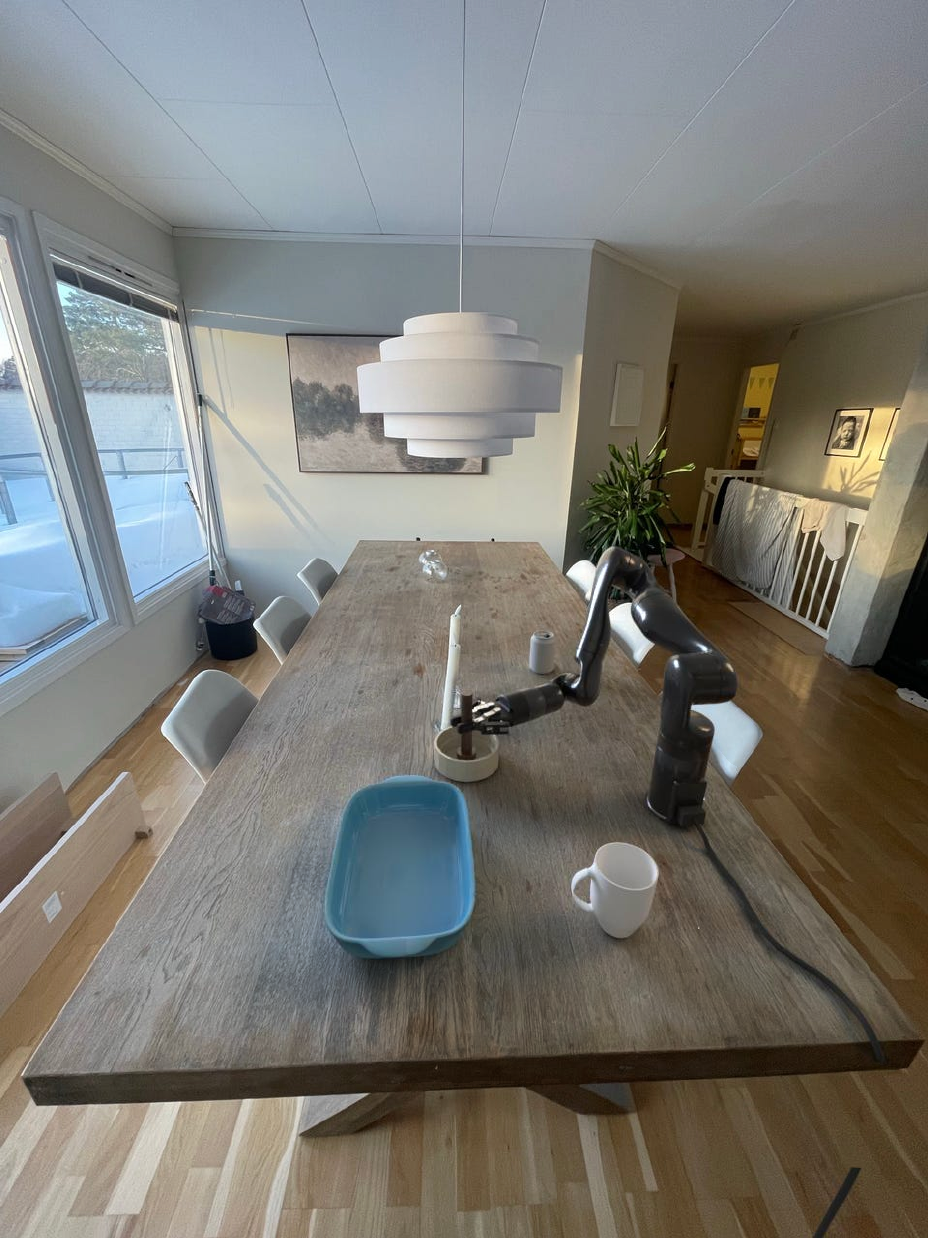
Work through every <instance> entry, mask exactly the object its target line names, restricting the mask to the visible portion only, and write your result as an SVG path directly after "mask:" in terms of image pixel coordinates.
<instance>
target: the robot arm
mask: <svg viewBox="0 0 928 1238" xmlns="http://www.w3.org/2000/svg"><path fill="white" fill-rule="evenodd" d="M611 587H613V588H615V589H618V590H620V591H622V592H624V593H625V594H627V595H628V596H629V597H630V598H631V600H632V602H631V604H630V614H631V618H632V621H633V622H634V624H635V625H636V627H637V628H638V630H639V632H640V633H641V635H642V636H643V637H644V638H645V639H646V640H648V641H649V642H650V643H652V644H654V645H655V646H656V647H659V648H660V649H663V650H664V651H666V652H669V653H670V654H672V655H671V656H670V657H669V658H668V660H667V661H666V664H665V667H664V672H663V680H662V682H663V683H662V691H661V699H660V709H659V713H660V714H659V715H660V723H659V730H658V735H657V740H656V746H655V753H654V759H653V765H652V770H651V776H650V782H649V788H648V794H647V797H646V805H647V808H648V810H649V811H650V812H651V813H652V814H653V815H654V816H656V817H658V818H659V819H660V820H663V821H664V822H666V823H667V824H668V826H675V825H680V827H681V828H683V827H684V828H685V827H692V826H695V828H696V831H697V832H698V833H699V834H700V837H701V840H702V842H703V844H704V848H705V849H706V852H707V853H708V855H709V856H710V858H711V859H712V861H713V863H714V864H715V865H716V867H717V868H718V869H719V870H720V872H721V873H722V874H723V875H724V876H725V878H726V879H727V881H728V882H729V884H731V885H732V887H733V888H734V890H735V891H736V893H737V894H738V896H739V897H740V899H741V901H742V903H743V904H744V907H745V908H746V910H747V912H748V915H749V917H750V918H751V919H752V922H753V923H754V924H755V926H756V927H757V929H758V930H759V931H760V933H761V934H762V935H763V937H764V938H765V939H766V940H767V941H768V942H769V943H770V944H771V945H772V946H773V947H774V948H775V949H776V950H778V952H780V953H781V954H782V955H783V956H785V957H786V958H788V959H789V960H790V961H792V962H793V963H795V964H796V965H798V966H800V967H801V968H803V969H804V970H806V971H807V972H808V973H810V974H811V975H813V976H814V977H815V978H817V979H818V980H820V981H821V982H822V983H823V984H825V986H827V987H828V988H829V989H830V990H832V992H833V993H834V994H835V995H837V997H838V998H839V999H840V1000H841V1001H842V1002H843V1003H844V1004H845V1005H846V1006H847V1008H848V1009H850V1011H851V1012H852V1013H853V1014H854V1016H855V1017H856V1018H857V1019H858V1021H859V1022H860V1024H861V1026H862V1027H863V1029H864V1032H865V1034H866V1035H867V1037H868V1040H869V1041H870V1044H871V1047H872V1049H873V1052H874V1053H875V1054H874V1055H875V1057H876V1059H877V1061H878V1062H880V1063H882V1064H885V1063H886V1059H885V1058H886V1057H885V1055H884V1052H883V1049H882V1047H881V1044H880V1041H879V1039H878V1037H877V1035H876V1033H875V1031H874V1029H873V1027H872V1026H871V1024H870V1023H869V1021H868V1020H867V1018H866V1016H865V1015H864V1014H863V1012H862V1011H861V1009H859V1008H858V1007H857V1005H856V1004H855V1003H854V1002H853V1001H852V1000H851V999H850V998H849V997H848V996H847V995H846V993H844V991H843V990H841V988H840V987H838V985H837V984H836V983H834V982H833V981H832V980H831V979H830V978H829V977H827V975H825V974H824V973H822V972H821V971H819V970H818V969H817V968H815V967H813V966H812V965H810V964H809V963H808V962H806V961H804V960H803V959H801V958H800V957H799V956H797V955H795V954H794V953H792V952H791V951H790V950H788V949H787V948H785V947H784V946H783V945H782V944H781V943H779V942H778V941H777V940H776V938H774V936H772V934H771V933H770V932H769V931H768V930H767V929H766V927H765V926H764V924H762V922H761V921H760V919H759V917H758V916H757V914H756V912H755V910H754V908H753V907H752V905H751V903H750V901H749V899H748V897H747V896H746V894H745V892H744V891H743V889H742V888H741V886H740V885H739V883H738V882H737V881H736V879H734V876H733V875H731V874H730V872H729V871H728V870H727V869H726V868H725V866H724V865H723V863H721V861H720V860H719V858H718V857H717V856H716V854H715V852H714V851H713V849H712V846H711V845H710V841H709V839H708V836H707V835H706V832H705V831H704V829H703V827H702V826H701V825H704V824H705V819H706V815H707V811H706V810H705V809H704V808H703V804H704V801H705V795H706V790H707V786H708V781H707V780H706V774H707V769H708V764H709V760H710V755H711V752H712V751H711V750H712V746H713V741H714V737H715V732H716V731H715V730H716V729H715V728H716V727H715V725H714V723H713V721H712V720H711V719H710V718H708V716H706V715H705V714H703V713H701V712H699V711H697V710H694V709H692V708H693V707H692V706H707V705H711V706H713V705H721V704H726V703H728V702H730V701H733V699H735V697H736V696H737V693H738V691H739V679H738V675H737V671H736V669H735V667H734V665H733V664H732V662H731V660H730V659H729V658H728V657H727V656H726V655H725V654H724V652H723V651H722V650H720V649H719V648H718V647H717V646H716V645H715V644H714V643H713V642H711V640H709V638H707V637H706V636H705V635H704V634H703V633H702V632H701V631H700V630H699V629H698V628H697V627H696V626H695V624H693V622H692V621H691V620H690V619H689V618H688V616H687V615H686V614H685V613H684V612H683V610H682V609H681V607H680V606H679V605H678V604H677V602H676V601H675V600H674V598H672V596H671V595H670V594H669V593H668V592H667V591H666V590H665V588H664V587H663V586H662V585H661V584H660V583H659V582H658V581H657V578H656V577H655V575H654V574H653V572H652V570H651V568H650V566H649V565H648V563H647V562H646V560H644V559H643V558H642V557H640V556H639V555H637V554H635V553H632V552H630V551H628V550H626V549H624V548H622V547H619V546H616V545H613V546H609V548H607V549H605V550H604V552H603V553H602V554H601V556H600V558H599V560H598V562H597V565H596V569H595V573H594V577H593V581H592V587H591V591H590V597H589V598H590V599H589V601H588V607H587V613H586V617H585V621H584V625H583V628H582V632H581V635H580V637H579V640H578V643H577V645H576V648H575V652H574V655H573V659H574V662H576V663H577V664H578V665H579V666H580V674H578V673H576V672H564V673H561V674H558V675H557V676H556V677H554V678H552V679H551V680H549V681H548V682H545V683H541V684H537V685H534V686H528V687H523V688H519V689H516V690H512V691H508V692H505V693H502V694H500V695H498V696H497V698H496V699H495V700H489V701H486V702H485V701H482V697H480V696H476V697H475V698H474V699H472V715H473V716H472V720H470V721H466V722H463V723H461V713H460V714H456V715H453V716H451V717H450V727H451V726H452V727H456V726H457V732H458V733H459V734H463V733H468V732H471V731H477V732H478V731H480V732H481V734H482V735H496V736H497V735H498V736H499V735H501V736H503V735H509V733H510V728H512V727H516V726H518V725H522V724H525V723H528V722H531V721H535V720H537V719H539V718H540V717H544V716H546V715H550V714H552V713H556V712H558V711H559V710H561V709H562V708H563V707H564V705H565V702H570V703H571V704H574V705H576V706H579V707H583V708H589V707H591V706H592V705H593V704H594V703H595V702H596V701H597V699H598V698H599V696H600V692H601V689H602V688H601V687H602V677H603V674H602V673H603V663H604V660H605V657H606V655H607V651H608V649H609V645H610V643H611V639H612V623H611V618H610V611H609V609H610V608H609V596H610V591H611ZM488 729H489V730H488ZM861 1170H862V1167H857V1166H856V1167H853V1166H850V1169H849V1171H848V1172H847V1175H846V1176H845V1178H844V1180H843V1182H842V1184H841V1185H840V1187H839V1189H838V1191H837V1193H836V1194H835V1197H834V1198H833V1200H832V1202H831V1204H830V1205H829V1207H828V1209H827V1210H826V1212H825V1214H824V1216H823V1218H822V1220H821V1221H820V1223H819V1225H818V1227H817V1229H816V1231H815V1232H814V1234H813V1237H812V1238H824V1237H825V1235H826V1233H827V1231H828V1230H829V1228H830V1227H831V1225H832V1223H833V1221H834V1219H835V1218H836V1216H837V1215H838V1212H839V1210H840V1209H841V1207H842V1205H843V1204H844V1203H845V1200H846V1199H847V1197H848V1196H849V1194H850V1191H851V1190H852V1188H853V1186H854V1184H855V1182H856V1181H857V1178H858V1177H859V1175H860V1173H861Z"/></svg>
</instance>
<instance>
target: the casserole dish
mask: <svg viewBox="0 0 928 1238" xmlns="http://www.w3.org/2000/svg"><path fill="white" fill-rule="evenodd" d="M472 842H473V841H472V831H471V822H470V814H469V808H468V803H467V799H466V797H465V795H464V794H463V792H462V791H461V789H460V788H459V787H458V786H456V785H454V784H452V783H450V782H446V781H440V780H434V779H431V778H429V777H426V776H424V775H417V774H416V775H415V774H407V775H396V776H391V777H389V778H386V779H384V780H383V781H381V782H377V783H373V784H368V785H366V786H364V787H362V788H360V789H358V790H357V791H355V792H354V793H353V794H352V795H351V796H350V798H349V799H348V801H347V802H346V804H345V807H344V808H343V811H342V815H341V818H340V820H339V825H338V830H337V834H336V839H335V844H334V849H333V854H332V858H331V862H330V863H331V864H330V868H329V874H328V879H327V883H326V889H325V896H324V906H323V909H324V911H323V912H324V919H325V924H326V927H327V929H328V931H329V932H330V934H331V935H332V936H333V938H334V939H335V940H336V942H337V943H338V945H339V946H340V947H341V948H342V949H343V950H344V951H345V952H346V953H347V954H349V955H350V956H353V957H356V958H360V959H398V958H399V959H400V958H416V957H417V958H418V957H425V956H431V955H436V954H439V953H442V952H445V951H447V950H449V949H450V948H452V946H454V945H455V944H456V943H457V942H458V941H459V940H460V938H461V937H462V936H463V934H464V933H465V930H466V928H467V925H468V923H469V921H470V919H471V917H472V915H473V912H474V907H475V903H476V875H475V871H476V870H475V863H474V852H473V843H472Z"/></svg>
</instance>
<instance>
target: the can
mask: <svg viewBox="0 0 928 1238" xmlns="http://www.w3.org/2000/svg"><path fill="white" fill-rule="evenodd" d="M556 644H557V639H556V637H555V634H554V633H553V632H552V631H549V630H536V631H534V632H533V633H532V635H531V637H530V646H529V662H528V668H529V669H530V670H531V671H532V672H533V673H535V674H538V675H547V674H550V673H551V672H552V671H554V669H555V659H556V658H555V657H556Z"/></svg>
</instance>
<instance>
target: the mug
mask: <svg viewBox="0 0 928 1238" xmlns="http://www.w3.org/2000/svg"><path fill="white" fill-rule="evenodd" d="M659 874H660V871H659V867H658V864H657V862H656V861H655V859H654V858H653V857H652V856H651V855H650V854H649V853H647V851H645V850H644V849H643V848H640V847H638V846H636V845H633V844H631V843H627V842H618V841H617V842H616V841H615V842H609V843H606V844H603V845H602V846H600V847H599V848H598V849H597V851H596V853H595V855H594V860H593V863H592V865H591V866H590V867H584V868H583V869H581V870H579V871H577V872H576V873H575V874H574V875H573V878H572V880H571V884H570V886H571V887H570V888H571V889H570V890H571V896H572V899H573V902H574V903H575V904H576V906H577V907H578V908H580V909H581V910H583V911H584V912H585V913H590V914H593V915H594V916H595V917H596V919H597V920H598V922H599V924H600V926H601V928H602V930H603V931H604V932H605V933H606V934H608V935H610V936H611V937H613V938H616V939H626V938H629V937H631V936H632V934H634V933H635V932H636V931H637V930H638V929H639V928H640V927H641V926H642V925H643V924H644V923H645V921H646V920H647V918H648V916H649V914H650V911H651V908H652V904H653V901H654V897H655V893H656V888H657V884H658V880H659V876H660V875H659ZM586 878H590V886H589V887H590V888H589V899H590V903H587V902H586V901H583V900H582V899H581V898H580V897H578V896H577V895H576V894H575V892H574V890H575V887H576V885H578V884H579V882H581V881H583V880H585V879H586Z"/></svg>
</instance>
